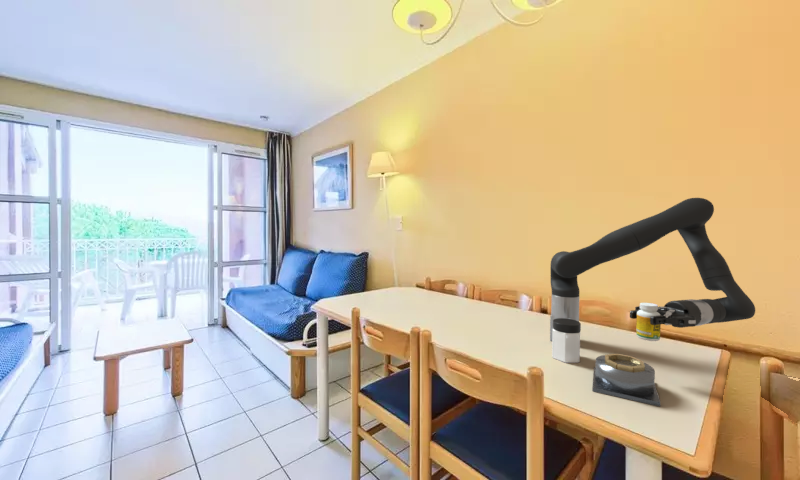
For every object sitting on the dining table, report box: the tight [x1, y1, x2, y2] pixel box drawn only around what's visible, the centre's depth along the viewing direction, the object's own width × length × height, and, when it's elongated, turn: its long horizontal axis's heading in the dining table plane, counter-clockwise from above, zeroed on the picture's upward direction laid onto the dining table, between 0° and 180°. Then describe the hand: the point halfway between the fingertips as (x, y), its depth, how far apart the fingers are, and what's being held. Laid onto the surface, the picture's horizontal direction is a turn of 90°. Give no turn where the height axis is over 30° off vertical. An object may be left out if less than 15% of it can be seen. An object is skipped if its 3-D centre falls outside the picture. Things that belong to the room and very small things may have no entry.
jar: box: [551, 318, 582, 364], centre depth 106 cm, size 9×8×12 cm
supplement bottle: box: [635, 302, 662, 342], centre depth 91 cm, size 5×5×10 cm
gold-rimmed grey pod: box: [591, 353, 661, 407], centre depth 87 cm, size 14×14×7 cm
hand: (641, 317), depth 90 cm, fingers closed on supplement bottle, 5 cm apart
